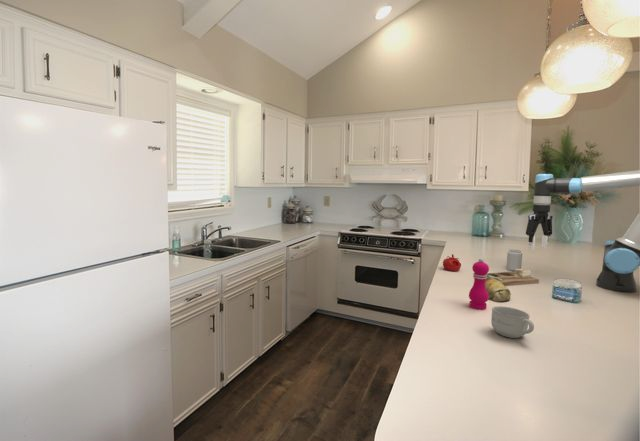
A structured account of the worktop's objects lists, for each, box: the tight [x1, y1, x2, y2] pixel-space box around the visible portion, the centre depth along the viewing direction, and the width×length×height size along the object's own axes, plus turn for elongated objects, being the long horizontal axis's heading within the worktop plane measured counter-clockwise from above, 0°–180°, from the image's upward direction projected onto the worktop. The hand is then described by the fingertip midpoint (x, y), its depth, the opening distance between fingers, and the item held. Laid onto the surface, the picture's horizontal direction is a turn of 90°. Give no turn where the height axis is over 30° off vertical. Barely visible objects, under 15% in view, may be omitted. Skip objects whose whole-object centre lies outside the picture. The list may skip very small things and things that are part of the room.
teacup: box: [490, 305, 535, 339], centre depth 110 cm, size 14×11×8 cm
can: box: [506, 249, 523, 272], centre depth 200 cm, size 8×8×12 cm
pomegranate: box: [442, 253, 462, 272], centre depth 197 cm, size 10×10×9 cm
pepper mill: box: [468, 257, 490, 311], centre depth 136 cm, size 7×7×20 cm
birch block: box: [514, 268, 532, 279], centre depth 176 cm, size 5×5×4 cm
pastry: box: [485, 279, 512, 303], centre depth 150 cm, size 14×12×8 cm
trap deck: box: [485, 271, 540, 287], centre depth 178 cm, size 16×25×4 cm, turn 107°
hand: (537, 248), depth 177 cm, fingers open, 8 cm apart
